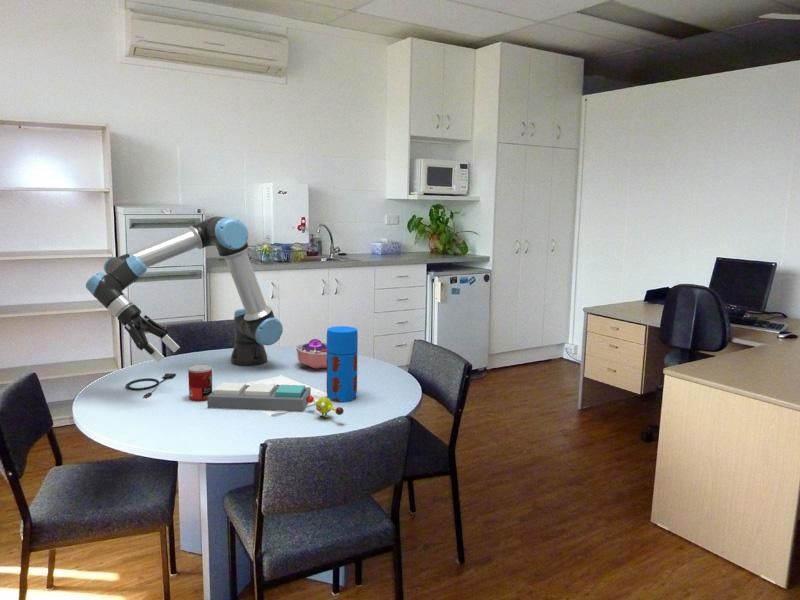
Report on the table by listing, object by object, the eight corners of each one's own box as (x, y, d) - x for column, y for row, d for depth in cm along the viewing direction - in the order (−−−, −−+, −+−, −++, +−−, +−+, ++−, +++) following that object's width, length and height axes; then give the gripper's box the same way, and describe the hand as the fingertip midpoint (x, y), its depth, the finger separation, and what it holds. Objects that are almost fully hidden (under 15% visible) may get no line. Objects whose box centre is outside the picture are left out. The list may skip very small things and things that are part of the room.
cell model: (298, 374, 254) (298, 347, 252) (294, 361, 273) (294, 336, 271) (340, 372, 258) (340, 345, 256) (333, 360, 277) (333, 334, 275)
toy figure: (300, 412, 210) (300, 392, 209) (313, 408, 214) (313, 389, 213) (334, 427, 198) (334, 406, 197) (348, 422, 202) (348, 402, 200)
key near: (222, 392, 223) (222, 382, 223) (246, 392, 223) (245, 383, 222) (214, 399, 215) (213, 389, 214) (238, 400, 215) (238, 390, 214)
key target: (281, 394, 222) (281, 384, 222) (305, 395, 222) (305, 385, 221) (275, 402, 214) (275, 392, 213) (300, 402, 214) (300, 392, 213)
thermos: (349, 404, 220) (349, 333, 216) (321, 400, 223) (321, 330, 219) (361, 395, 230) (362, 327, 226) (335, 391, 233) (335, 325, 229)
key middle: (251, 393, 223) (251, 383, 222) (275, 394, 222) (275, 384, 222) (244, 400, 214) (244, 390, 214) (269, 401, 214) (269, 391, 214)
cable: (109, 398, 221) (109, 394, 221) (142, 376, 249) (142, 372, 249) (148, 399, 221) (147, 395, 221) (176, 376, 249) (176, 373, 249)
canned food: (206, 402, 218) (205, 371, 216) (184, 400, 220) (183, 369, 218) (216, 395, 226) (215, 365, 224) (195, 393, 227) (194, 364, 225)
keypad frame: (221, 395, 226) (220, 384, 226) (310, 398, 225) (310, 387, 224) (207, 407, 213) (207, 396, 212) (302, 411, 211) (302, 399, 211)
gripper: (134, 311, 232) (176, 353, 233) (99, 325, 207) (146, 371, 209) (148, 297, 231) (189, 339, 232) (114, 309, 206) (161, 356, 208)
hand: (169, 354), depth 221 cm, fingers open, 13 cm apart
